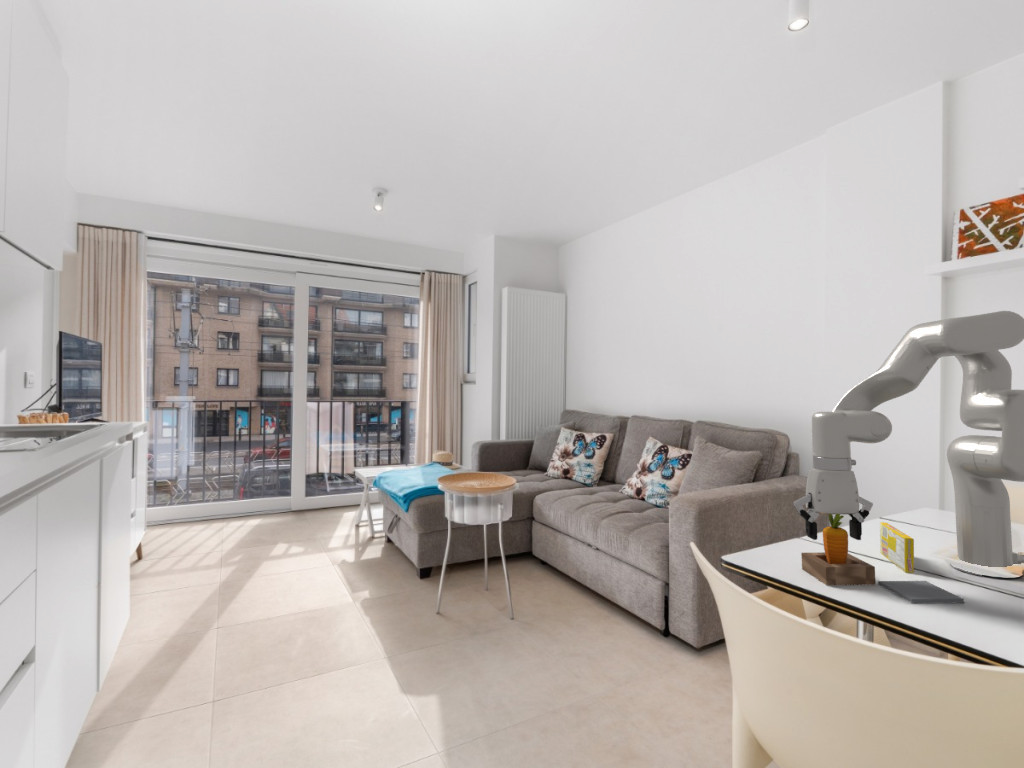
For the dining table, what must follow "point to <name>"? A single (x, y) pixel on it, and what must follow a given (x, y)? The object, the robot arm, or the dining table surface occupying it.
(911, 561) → the candy box
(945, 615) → the dining table surface
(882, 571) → the dining table surface
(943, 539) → the dining table surface
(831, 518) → the carrot
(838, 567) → the walnut collar
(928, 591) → the rubber mat
